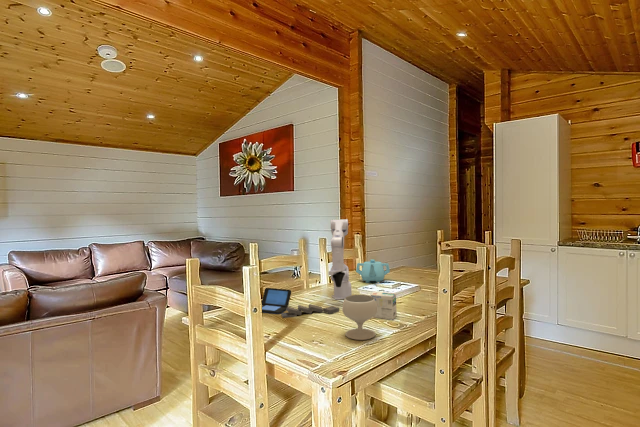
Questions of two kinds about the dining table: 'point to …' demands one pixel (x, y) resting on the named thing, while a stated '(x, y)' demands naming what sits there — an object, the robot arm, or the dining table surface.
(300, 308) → the domino
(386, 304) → the light bulb box
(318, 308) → the domino
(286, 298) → the handheld game console
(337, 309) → the domino
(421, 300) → the dining table surface
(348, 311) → the chalice
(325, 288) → the dining table surface
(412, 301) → the dining table surface
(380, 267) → the teapot
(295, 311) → the domino
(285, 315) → the domino
